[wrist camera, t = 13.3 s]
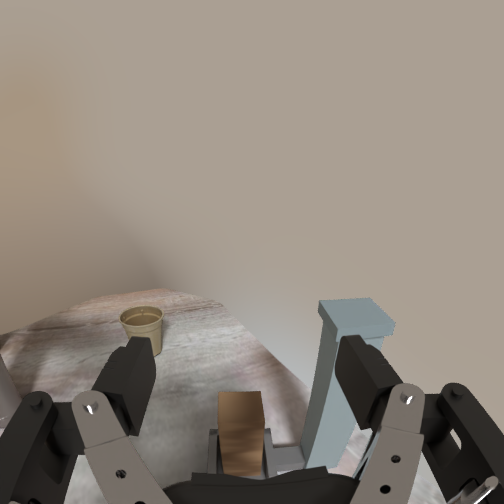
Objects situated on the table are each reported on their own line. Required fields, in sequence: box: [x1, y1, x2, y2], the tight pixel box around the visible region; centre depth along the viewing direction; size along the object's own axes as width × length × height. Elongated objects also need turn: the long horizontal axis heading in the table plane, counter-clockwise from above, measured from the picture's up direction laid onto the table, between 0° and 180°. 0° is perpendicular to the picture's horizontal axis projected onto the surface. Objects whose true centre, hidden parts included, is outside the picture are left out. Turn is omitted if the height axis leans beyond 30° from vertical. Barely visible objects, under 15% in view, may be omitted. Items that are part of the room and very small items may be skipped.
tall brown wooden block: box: [218, 391, 265, 476], centre depth 27 cm, size 4×4×12 cm
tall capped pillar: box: [207, 298, 395, 480], centre depth 26 cm, size 17×8×23 cm, turn 94°
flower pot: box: [119, 305, 164, 357], centre depth 52 cm, size 9×9×9 cm
